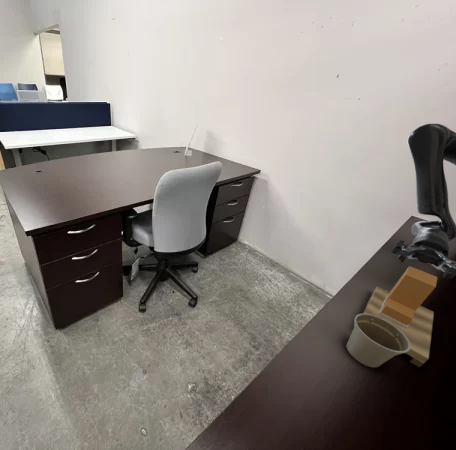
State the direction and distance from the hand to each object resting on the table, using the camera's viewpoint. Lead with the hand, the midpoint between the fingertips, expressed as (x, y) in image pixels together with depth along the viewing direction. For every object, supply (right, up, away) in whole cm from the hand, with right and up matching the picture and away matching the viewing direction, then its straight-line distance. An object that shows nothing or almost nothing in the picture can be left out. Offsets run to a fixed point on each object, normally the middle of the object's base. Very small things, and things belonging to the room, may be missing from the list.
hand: (424, 267), depth 63 cm
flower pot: (-24, -19, -8) cm, 32 cm away
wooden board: (-10, -16, -1) cm, 18 cm away
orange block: (-9, -11, -1) cm, 14 cm away
